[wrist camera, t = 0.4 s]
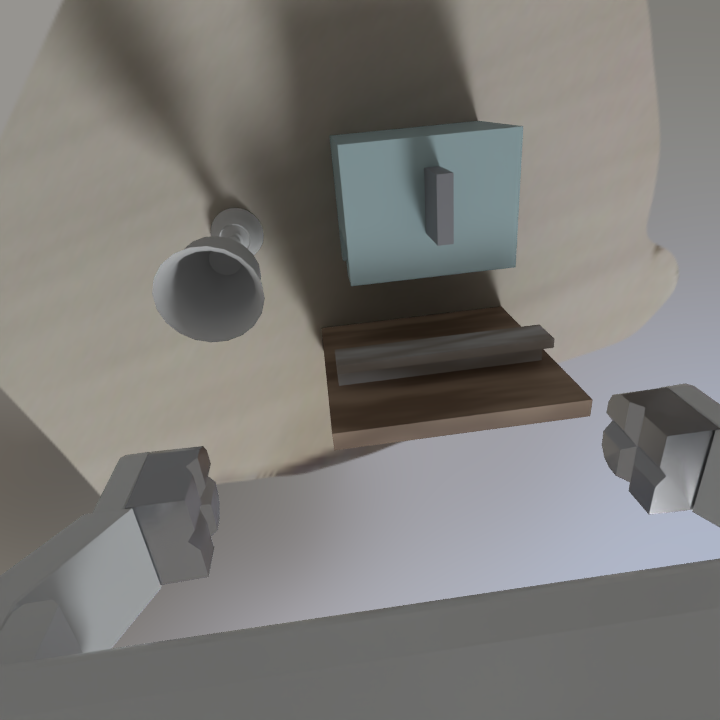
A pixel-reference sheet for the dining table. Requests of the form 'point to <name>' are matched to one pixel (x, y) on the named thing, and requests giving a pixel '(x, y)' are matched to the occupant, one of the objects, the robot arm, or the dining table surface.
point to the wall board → (443, 377)
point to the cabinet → (427, 200)
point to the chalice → (214, 281)
